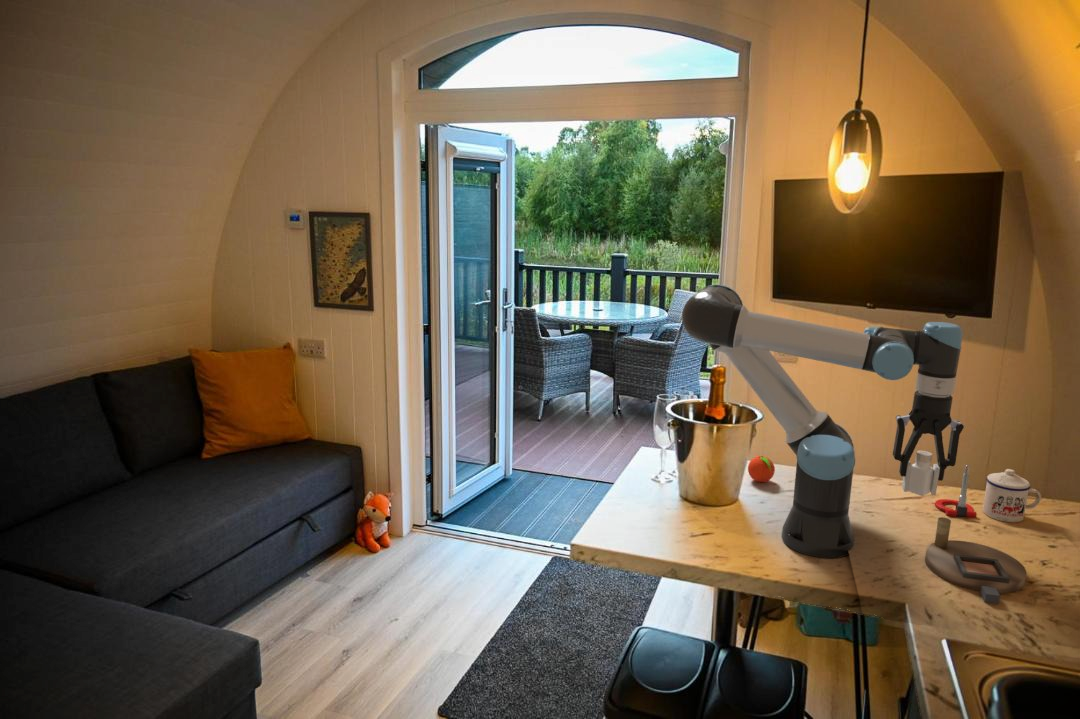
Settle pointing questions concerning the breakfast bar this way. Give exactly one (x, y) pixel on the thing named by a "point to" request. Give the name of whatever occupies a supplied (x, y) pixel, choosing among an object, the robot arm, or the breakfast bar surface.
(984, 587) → the charcoal grey block
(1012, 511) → the teacup with lid
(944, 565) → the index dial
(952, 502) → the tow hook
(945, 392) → the robot arm
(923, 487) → the pepper shaker
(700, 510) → the breakfast bar surface
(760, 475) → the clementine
